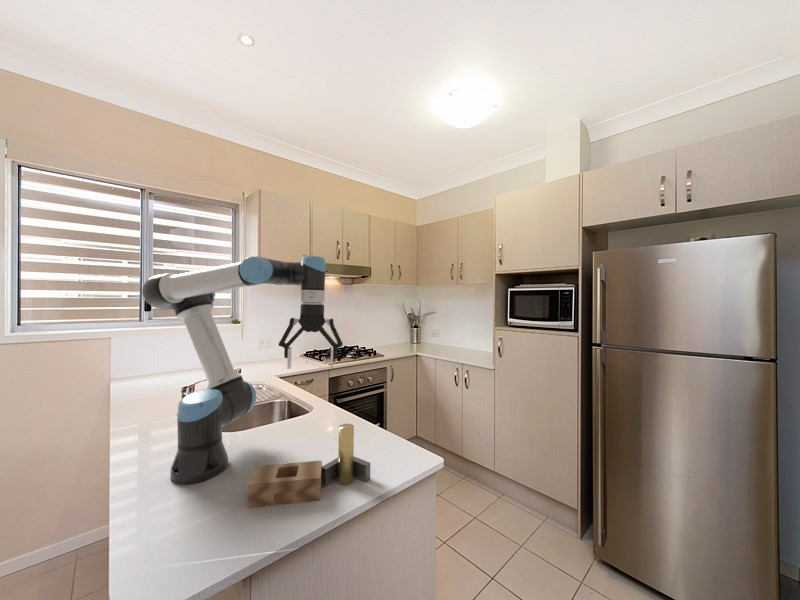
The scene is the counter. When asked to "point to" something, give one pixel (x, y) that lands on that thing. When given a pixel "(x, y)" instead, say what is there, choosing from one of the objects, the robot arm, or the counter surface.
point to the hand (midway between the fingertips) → (310, 367)
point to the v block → (359, 471)
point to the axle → (345, 454)
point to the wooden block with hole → (285, 484)
